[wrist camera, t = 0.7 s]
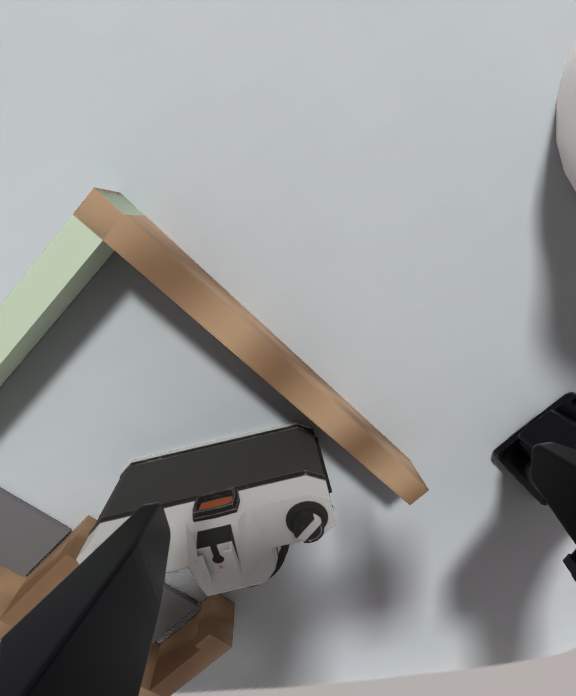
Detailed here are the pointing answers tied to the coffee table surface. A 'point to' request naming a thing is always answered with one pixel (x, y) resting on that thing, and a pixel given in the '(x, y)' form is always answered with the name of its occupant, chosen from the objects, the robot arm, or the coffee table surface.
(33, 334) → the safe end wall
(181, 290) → the trap box
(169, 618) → the mats
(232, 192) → the coffee table surface
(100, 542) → the camera
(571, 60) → the honey pot
